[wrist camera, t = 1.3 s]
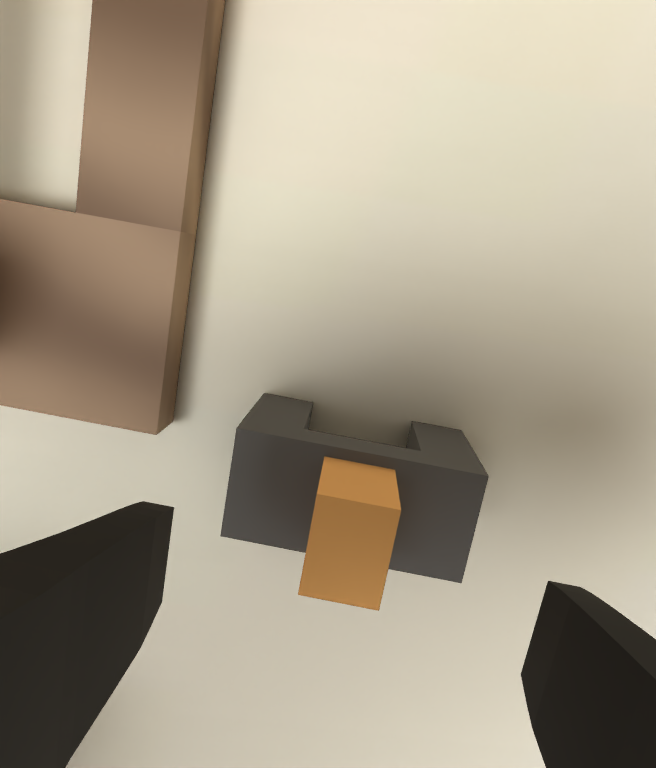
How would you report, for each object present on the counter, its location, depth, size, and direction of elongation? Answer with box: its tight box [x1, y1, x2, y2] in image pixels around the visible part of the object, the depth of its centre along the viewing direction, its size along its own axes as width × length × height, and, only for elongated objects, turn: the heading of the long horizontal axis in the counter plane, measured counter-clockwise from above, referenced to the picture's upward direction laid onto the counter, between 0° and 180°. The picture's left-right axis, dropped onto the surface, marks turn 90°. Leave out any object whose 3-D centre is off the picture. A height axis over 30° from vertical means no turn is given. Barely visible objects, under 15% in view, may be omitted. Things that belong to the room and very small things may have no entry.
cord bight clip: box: [221, 393, 488, 611], centre depth 15 cm, size 3×6×6 cm, turn 80°
